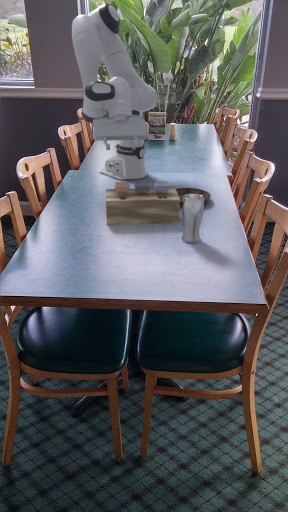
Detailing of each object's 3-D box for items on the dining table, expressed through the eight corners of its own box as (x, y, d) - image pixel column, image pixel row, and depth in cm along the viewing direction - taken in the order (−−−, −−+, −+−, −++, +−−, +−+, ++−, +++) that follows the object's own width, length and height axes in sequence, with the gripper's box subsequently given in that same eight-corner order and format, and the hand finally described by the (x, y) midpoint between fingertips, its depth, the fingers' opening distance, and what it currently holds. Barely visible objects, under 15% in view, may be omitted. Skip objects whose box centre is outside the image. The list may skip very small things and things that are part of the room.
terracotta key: (115, 187, 167) (115, 182, 166) (128, 187, 167) (128, 181, 166) (115, 192, 162) (115, 186, 161) (129, 191, 163) (129, 186, 162)
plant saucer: (159, 196, 190) (160, 189, 188) (198, 192, 195) (198, 185, 194) (177, 212, 175) (177, 204, 174) (218, 206, 181) (218, 199, 179)
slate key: (153, 186, 168) (153, 181, 167) (166, 186, 168) (166, 181, 167) (154, 191, 164) (154, 186, 163) (168, 191, 164) (168, 185, 163)
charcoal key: (134, 187, 167) (134, 181, 166) (147, 186, 168) (147, 181, 167) (135, 191, 163) (135, 186, 162) (149, 191, 163) (149, 186, 162)
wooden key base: (106, 211, 174) (105, 188, 169) (173, 210, 176) (174, 187, 171) (106, 224, 163) (106, 200, 159) (178, 222, 165) (180, 198, 161)
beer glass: (203, 236, 155) (206, 195, 148) (198, 245, 149) (201, 202, 142) (183, 233, 157) (185, 192, 150) (178, 242, 151) (180, 199, 144)
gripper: (91, 112, 170) (92, 145, 166) (146, 111, 171) (148, 144, 167) (93, 122, 176) (93, 154, 172) (146, 121, 177) (147, 153, 173)
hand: (120, 149), depth 169 cm, fingers open, 8 cm apart
